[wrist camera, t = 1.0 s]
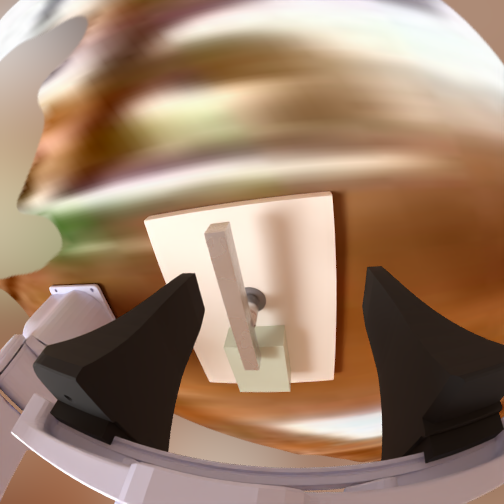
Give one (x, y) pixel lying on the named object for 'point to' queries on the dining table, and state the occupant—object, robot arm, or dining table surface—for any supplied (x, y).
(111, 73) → the dining table surface
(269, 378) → the cover
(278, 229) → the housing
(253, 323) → the t key
